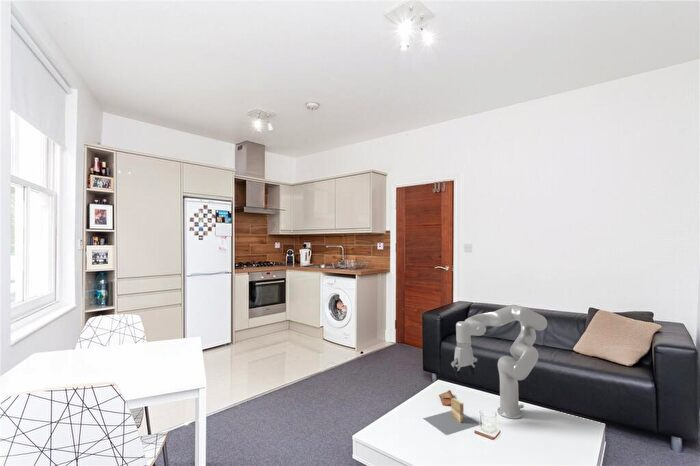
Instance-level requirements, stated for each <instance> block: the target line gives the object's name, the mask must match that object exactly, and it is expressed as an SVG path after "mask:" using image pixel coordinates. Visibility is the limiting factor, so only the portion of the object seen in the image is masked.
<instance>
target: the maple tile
mask: <svg viewBox="0 0 700 466" xmlns="http://www.w3.org/2000/svg"><path fill="white" fill-rule="evenodd" d="M450 411H451V417H452V418H453V419H455V420H456V421H458V422H459V423H462V422H464V414H465V412H464V402H462V401H461V400H459V399H457V398H455V397H454V398H453V399H451V406H450Z"/></svg>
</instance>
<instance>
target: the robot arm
mask: <svg viewBox="0 0 700 466" xmlns="http://www.w3.org/2000/svg"><path fill="white" fill-rule="evenodd" d="M514 321H518V322H519V324H520V332H519V334H518V336H517V338H516V339H515V340H514V341H513V343H512V345H511V346H510V349H509V353H510V354H511V356H513V357H514V358H513V357H510V356H508V355H503V356H501V357H500V358H498V361H497V370H498V375H499V405H500V406H499V407H498V408H497V414H498V415H499V416H502V417H504V418H507V419H510V420H511V419H512V420H513V419H514V420H515V419H517V420H518V419H521V418H522V417H523V413H522V412H521V409H524V408H525V405H524V404H523V403H522V404H519V403H520V402H519V382H518V381H523V380H525V379H526V378H527V377H528V376H529V374H531V372H532V370H533V369H534V367H535V365H536V364H537V362H538V360H539V352H538V349H537V348H536V347H534V346H533V345H534V343H535V342H536V339H537V334H536V331H543V330H546V328H547V326H548V320H547V319H546V317H545V316H544V315H542V314H540V313H538V312H536V311H534V310H532V309H530V308H528V307H525V306H522V305H519V304H518V305H517V304H510V305H509V304H508V305H507V306H504V307H502V308H499V309H497V310H495V311H489V312H483V313H479V314H475V315H472V316H470V317H467V318H466V319H465V320H464V321H457V322H456V324H455V334H456V336H455V337H456V346H455V347H454V360H453V361H452V362H451V363H450V365H451V367H452V368H453V370H454V371H455V372H454V373H455V374H454V375H455V377H456V378H458V379H461V371H460V370H461V368H464V367H468V374H469V375H472V376H474V375H475V367H476V365H477V362H478V358H477V357H475V356H474V351H473V347H472V344H473V343H472V340H471V337H472V336H476V337H477V336H483V335H485V333H486V332H487V328H486V327H501V326H504V325H507V324H510V323H511V322H514ZM515 358H516V359H515Z"/></svg>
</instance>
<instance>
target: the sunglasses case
mask: <svg viewBox="0 0 700 466" xmlns="http://www.w3.org/2000/svg"><path fill="white" fill-rule="evenodd" d="M438 396H439V398H440V401H441V405H442V406H443V407H451V399H453V398H455V397H454V394H453V393H452V391H451V390H450V389H449V390H447V391H446V392H445V391H444V392H443V393H440V394H438Z"/></svg>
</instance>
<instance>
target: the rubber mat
mask: <svg viewBox="0 0 700 466" xmlns="http://www.w3.org/2000/svg"><path fill="white" fill-rule="evenodd" d="M422 419H423V420H424V421H425V422H427V423H429V424H430V425H432V427H434V428H436V430H439V431H440V432H441V433H443V435H445V436H448V435H452V434H454V433H458V432H462V431H464V430H468V429H471V428H475V427H477V426H480V425H479V423H480V422H478V421H477V420H475V419H473V418H472V417H470V416H468V415H467V414H466V413H464V422H462V423H459V422H458V421H456V420H455V419H453V418H452V417H451V410H448V411H445V412H442V413H438V414H434V415H430V416H427V417H422Z"/></svg>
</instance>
